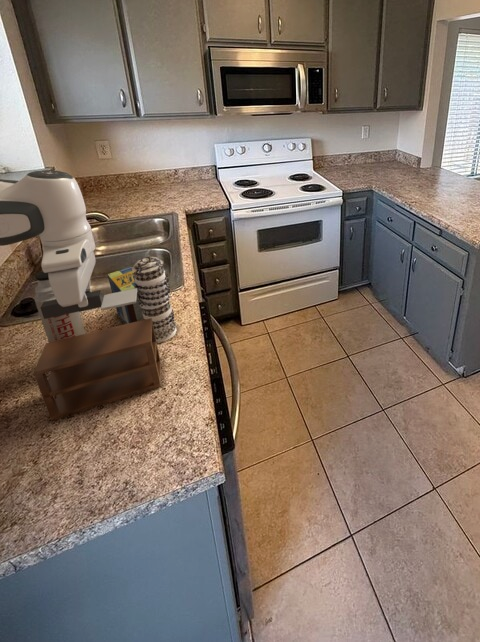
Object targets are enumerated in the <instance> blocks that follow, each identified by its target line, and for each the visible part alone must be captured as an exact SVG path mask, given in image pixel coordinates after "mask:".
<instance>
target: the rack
mask: <svg viewBox="0 0 480 642" xmlns="http://www.w3.org/2000/svg"><path fill="white" fill-rule="evenodd" d="M161 363H162V360H161V355H160V351H159V346H158V343H157V341H156V336H155V332H154V327H153V322H152V318H149V319H145V320H141V321H137V322H133V323H128V324H124V323H123V324H121V325H120V324H119V325H117V326H111V327H107V328H103V329H100V330H95V331H91V332H88V333H87V332H86V334H82V335H78V336H74V337H70V338H66V339H62V340H57V341H53V342H49V341H48V342H46V343H45V345H44V347H43V349H42V351H41V354H40V356H39V357H38V361H37V363H36V366H35V368H34V370H33V374H34V378H35V380H36V383H37V386H38V388H39V391H40V394H41V397H42V400H43V403H44V405H45V407H46V410H47V413H48V416H49V418H50V420H51V421H54V420H57V419H60V418H63V417H67V416H70V415H73V414H77V413H79V412H82V411H87V410H89V409H92V408H96V407H100V406H102V405H105V404H109V403H112V402H115V401H119V400H122V399H124V398H128V397H131V396H135V395H138V394H141V393H144V392H148V391H152V390H154V389H157V388H161V387H162V377H161V376H162V373H161V370H162V367H161ZM47 373H49V375H48V377H47ZM55 396H56V397H55Z"/></svg>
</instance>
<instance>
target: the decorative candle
mask: <svg viewBox="0 0 480 642" xmlns="http://www.w3.org/2000/svg"><path fill="white" fill-rule="evenodd" d="M132 266H133V267H132V270H133V271H134V274H135V282H136V284H135V286H134V287H135V289H136V288H137V287H138V289H137V295H138V296H137V297H138V301H139V302H140V303H139V305H140V307H141V308H142V310H143V320H145V319H149V318H152V322H153V327H154V332H155V336H156V341H157V344H159V343H163V342H166V341H168V340H170V339H172V338H173V337H174V336H175V335H176V333H177V323H176V319H175V313H174V309H172V303H171V302H170V300H171V289H170V284H169V282H170V280H169V274H168V273H167V272H166V271H165V269H164V260H162V259H159V258H158V257H156V256H146V257H142V258H140V259H138V260H137V261H136V262H135V264H134V265H132Z"/></svg>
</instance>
